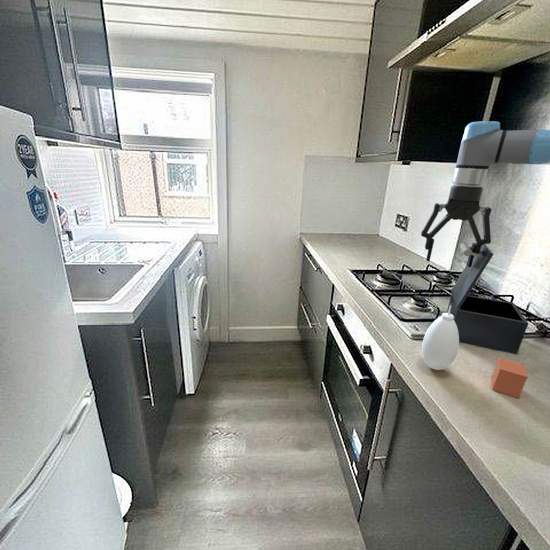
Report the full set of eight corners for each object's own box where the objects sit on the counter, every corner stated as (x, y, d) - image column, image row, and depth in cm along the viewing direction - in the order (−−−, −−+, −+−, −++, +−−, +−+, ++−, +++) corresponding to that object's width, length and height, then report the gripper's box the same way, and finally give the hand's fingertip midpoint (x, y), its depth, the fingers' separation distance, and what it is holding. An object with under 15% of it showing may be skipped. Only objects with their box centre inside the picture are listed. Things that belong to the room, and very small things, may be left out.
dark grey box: (504, 330, 96) (513, 302, 92) (516, 354, 84) (528, 323, 81) (444, 319, 102) (451, 292, 98) (449, 339, 90) (457, 310, 87)
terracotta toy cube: (516, 385, 72) (524, 364, 70) (518, 398, 68) (527, 377, 66) (491, 377, 75) (498, 357, 72) (492, 389, 71) (500, 368, 68)
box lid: (483, 242, 90) (462, 235, 92) (493, 254, 79) (470, 246, 80) (453, 291, 98) (435, 284, 100) (459, 309, 86) (438, 301, 88)
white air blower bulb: (447, 361, 80) (465, 300, 74) (454, 380, 73) (474, 315, 67) (415, 355, 82) (430, 295, 76) (419, 373, 75) (435, 309, 69)
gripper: (513, 187, 81) (489, 265, 89) (421, 182, 89) (407, 254, 97) (522, 189, 74) (495, 273, 82) (421, 183, 83) (406, 260, 91)
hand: (447, 262), depth 90 cm, fingers open, 10 cm apart
